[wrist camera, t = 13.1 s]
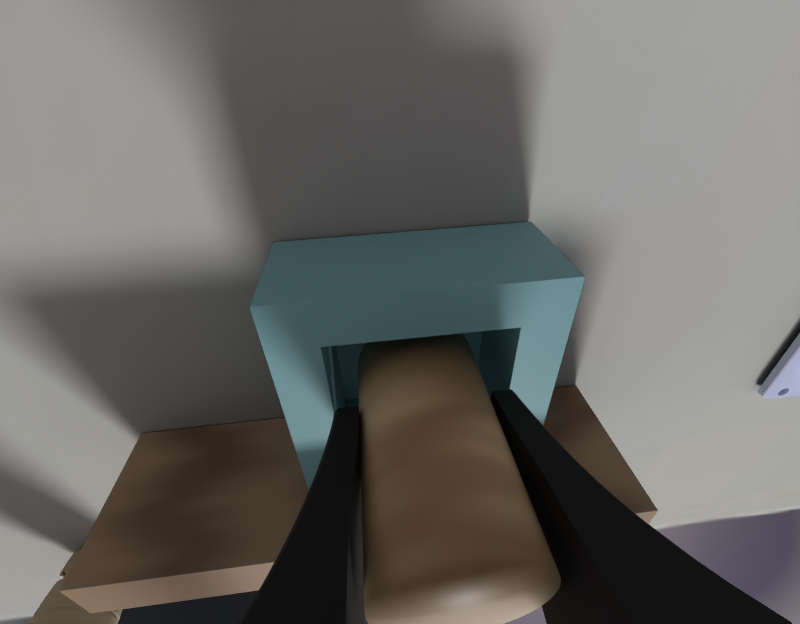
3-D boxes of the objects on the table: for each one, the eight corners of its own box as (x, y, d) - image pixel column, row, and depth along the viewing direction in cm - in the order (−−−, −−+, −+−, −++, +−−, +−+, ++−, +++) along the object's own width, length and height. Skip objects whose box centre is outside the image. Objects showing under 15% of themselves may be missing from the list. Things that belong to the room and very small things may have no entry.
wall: (576, 385, 18) (657, 510, 14) (566, 413, 20) (639, 537, 15) (141, 433, 17) (58, 591, 12) (159, 459, 18) (91, 613, 13)
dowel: (478, 315, 12) (586, 546, 7) (464, 399, 15) (536, 623, 9) (354, 322, 12) (360, 572, 6) (360, 407, 14) (367, 646, 9)
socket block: (531, 221, 13) (585, 276, 10) (501, 395, 18) (531, 466, 15) (273, 242, 12) (249, 307, 9) (316, 415, 17) (310, 493, 14)
